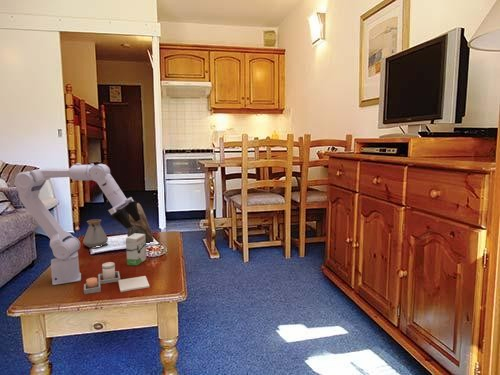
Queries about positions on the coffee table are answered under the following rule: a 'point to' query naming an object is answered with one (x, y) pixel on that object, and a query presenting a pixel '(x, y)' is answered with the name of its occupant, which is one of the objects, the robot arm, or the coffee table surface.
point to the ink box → (136, 249)
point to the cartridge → (108, 270)
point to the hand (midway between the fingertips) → (133, 223)
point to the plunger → (91, 282)
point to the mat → (133, 283)
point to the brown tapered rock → (140, 225)
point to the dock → (98, 288)
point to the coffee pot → (95, 234)
